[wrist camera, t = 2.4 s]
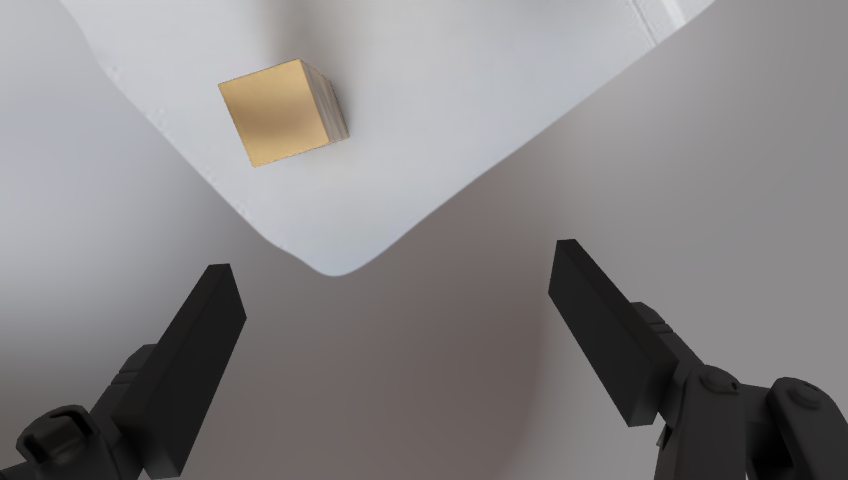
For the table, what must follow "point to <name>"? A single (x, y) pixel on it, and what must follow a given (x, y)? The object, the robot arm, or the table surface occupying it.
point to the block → (283, 111)
